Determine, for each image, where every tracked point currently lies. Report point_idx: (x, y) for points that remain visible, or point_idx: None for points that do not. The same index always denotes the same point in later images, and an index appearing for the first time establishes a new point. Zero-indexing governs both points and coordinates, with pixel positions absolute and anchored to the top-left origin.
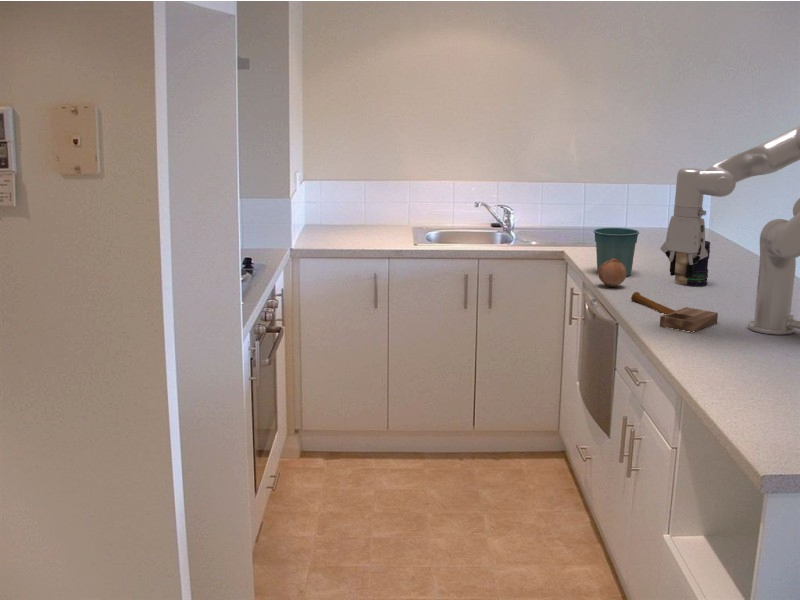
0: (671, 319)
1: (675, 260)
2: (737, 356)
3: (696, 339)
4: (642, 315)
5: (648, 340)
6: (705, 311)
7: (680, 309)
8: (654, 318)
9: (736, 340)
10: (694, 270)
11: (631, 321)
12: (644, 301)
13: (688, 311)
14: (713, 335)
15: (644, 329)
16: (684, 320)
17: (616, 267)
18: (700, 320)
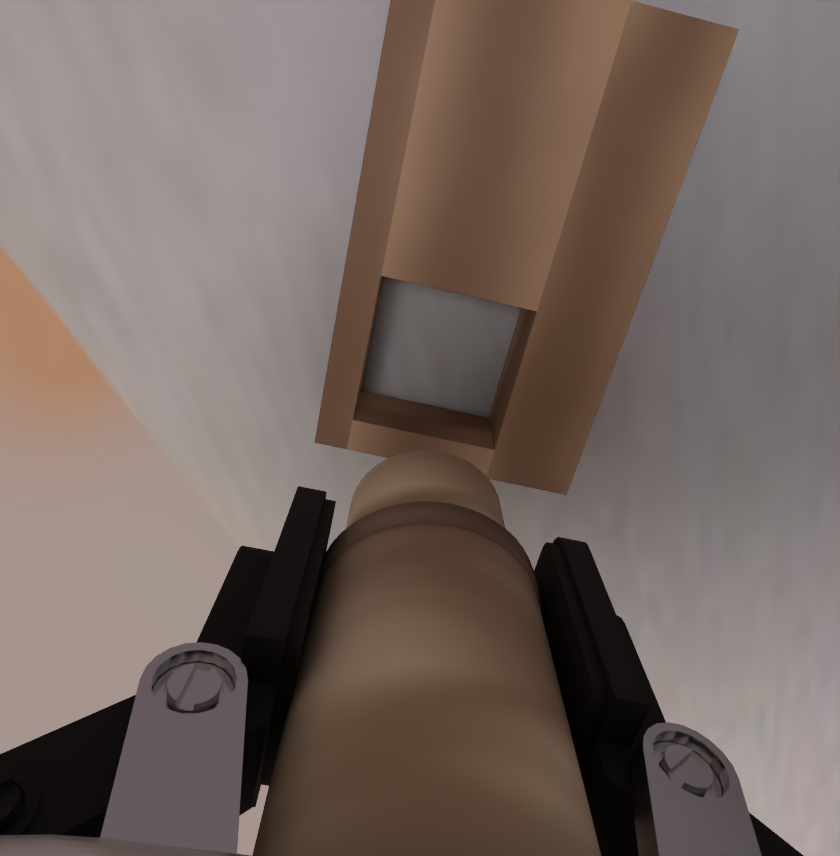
0: None
1: (260, 760)
2: (814, 748)
3: None
4: (85, 140)
5: None
6: (615, 44)
7: (379, 99)
8: (206, 192)
9: (830, 493)
10: (637, 658)
11: (117, 377)
12: None
13: (466, 146)
14: (688, 451)
15: (274, 523)
16: (501, 473)
17: None
18: (604, 382)
